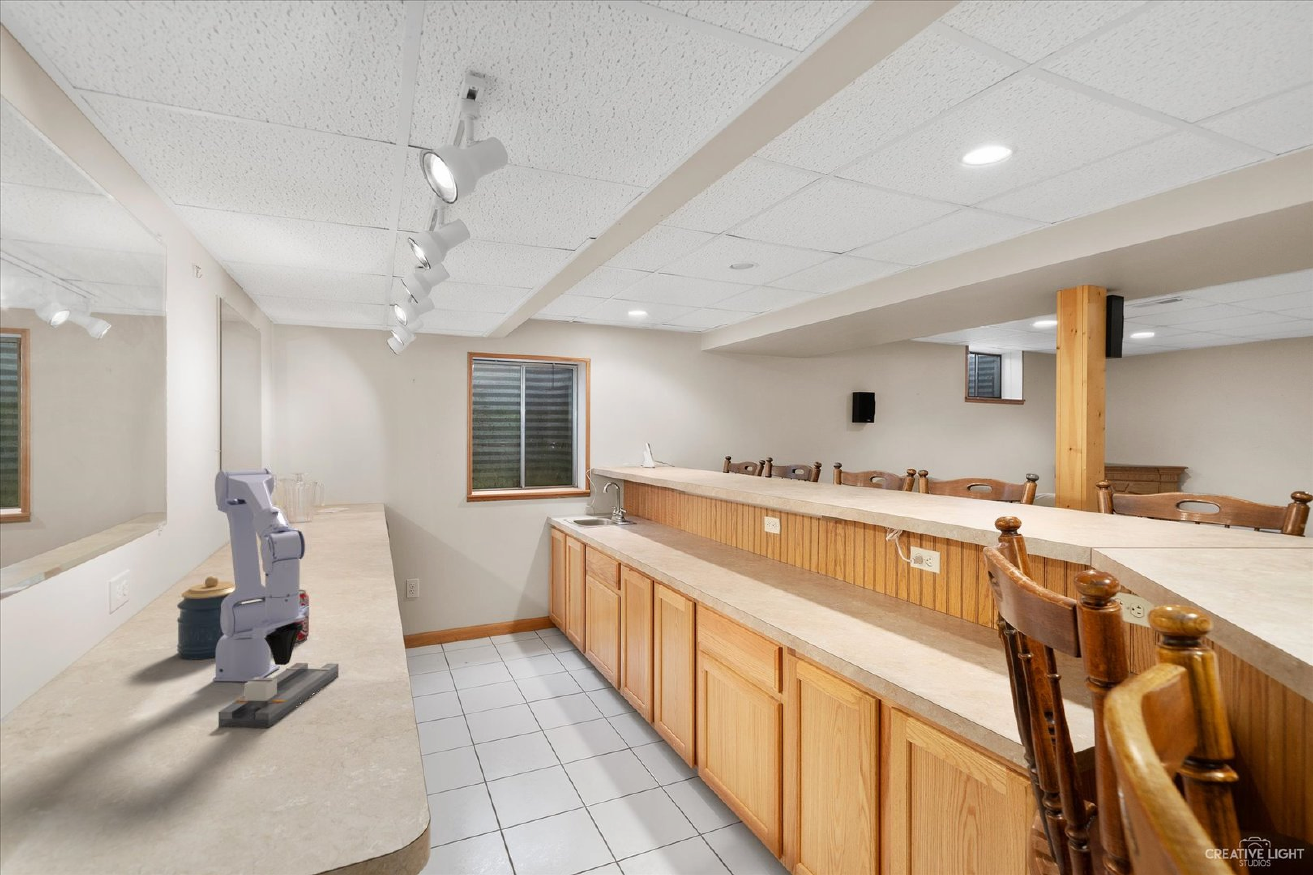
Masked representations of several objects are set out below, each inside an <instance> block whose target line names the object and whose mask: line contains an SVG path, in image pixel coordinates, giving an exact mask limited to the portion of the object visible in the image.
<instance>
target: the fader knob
mask: <svg viewBox="0 0 1313 875" xmlns="http://www.w3.org/2000/svg"><path fill="white" fill-rule="evenodd" d="M276 694H277V678H274V677H264V678H260V677H256V678H254V679H252V680H250V681H249V682H245V683H244V696H245V700H247V701H254V708H263V707H264V706H266V705H267V704H268V699H270V698H271V697H273V696H274V695H276Z"/></svg>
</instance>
